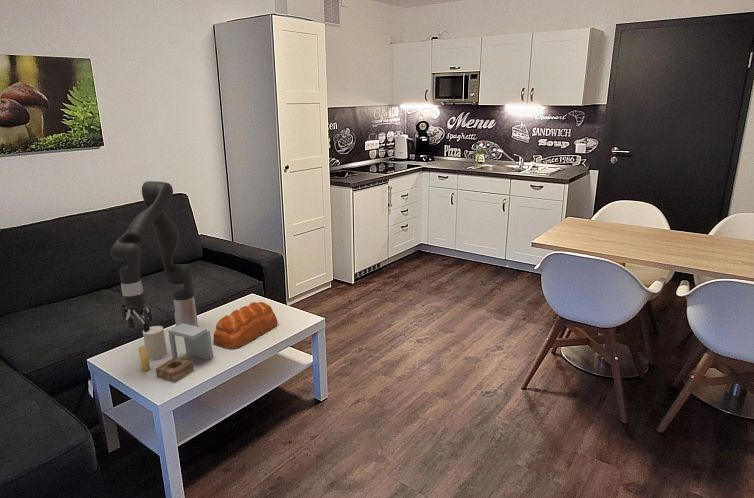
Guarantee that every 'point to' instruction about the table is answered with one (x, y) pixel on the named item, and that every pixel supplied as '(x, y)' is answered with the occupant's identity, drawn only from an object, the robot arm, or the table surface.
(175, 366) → the socket block
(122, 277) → the robot arm
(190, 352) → the grey arch-shaped block
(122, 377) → the table surface
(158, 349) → the cup
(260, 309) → the bread
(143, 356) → the peg
